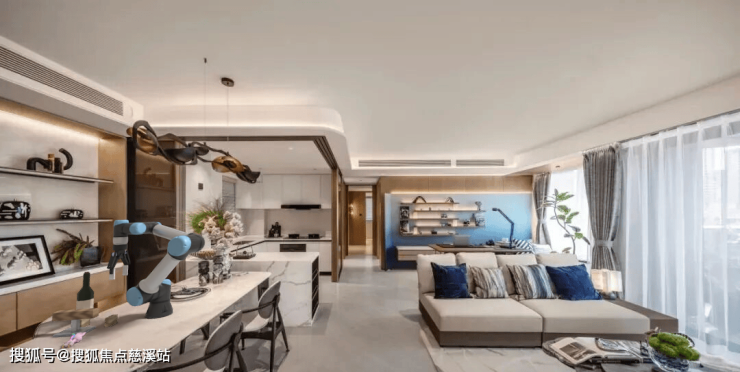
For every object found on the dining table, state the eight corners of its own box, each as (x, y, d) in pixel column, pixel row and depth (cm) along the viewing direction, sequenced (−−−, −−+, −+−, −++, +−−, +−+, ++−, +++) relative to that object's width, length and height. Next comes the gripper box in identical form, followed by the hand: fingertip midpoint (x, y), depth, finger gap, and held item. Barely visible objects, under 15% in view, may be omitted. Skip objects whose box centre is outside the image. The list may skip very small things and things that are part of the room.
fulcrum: (95, 328, 184) (96, 314, 184) (81, 335, 173) (82, 320, 173) (68, 330, 181) (69, 316, 182) (52, 337, 170) (53, 322, 171)
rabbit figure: (73, 350, 156) (90, 334, 170) (72, 339, 156) (90, 324, 170) (57, 352, 154) (77, 336, 169) (57, 341, 154) (76, 325, 168)
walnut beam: (98, 315, 182) (99, 307, 182) (92, 318, 177) (93, 310, 177) (59, 318, 178) (59, 310, 179) (51, 321, 173) (52, 313, 174)
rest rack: (117, 322, 193) (117, 314, 193) (110, 326, 186) (110, 317, 186) (84, 324, 189) (84, 316, 190) (75, 329, 183) (76, 320, 183)
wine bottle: (82, 321, 195) (85, 273, 198) (71, 321, 197) (74, 272, 200) (96, 317, 204) (98, 270, 206) (86, 316, 205) (88, 270, 208)
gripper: (125, 242, 212) (123, 274, 210) (100, 246, 188) (98, 281, 186) (137, 241, 214) (136, 273, 212) (114, 245, 189) (112, 281, 187)
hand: (118, 277), depth 199 cm, fingers open, 13 cm apart
